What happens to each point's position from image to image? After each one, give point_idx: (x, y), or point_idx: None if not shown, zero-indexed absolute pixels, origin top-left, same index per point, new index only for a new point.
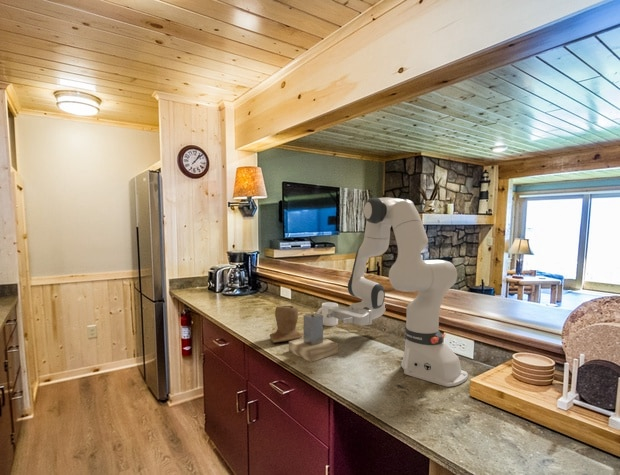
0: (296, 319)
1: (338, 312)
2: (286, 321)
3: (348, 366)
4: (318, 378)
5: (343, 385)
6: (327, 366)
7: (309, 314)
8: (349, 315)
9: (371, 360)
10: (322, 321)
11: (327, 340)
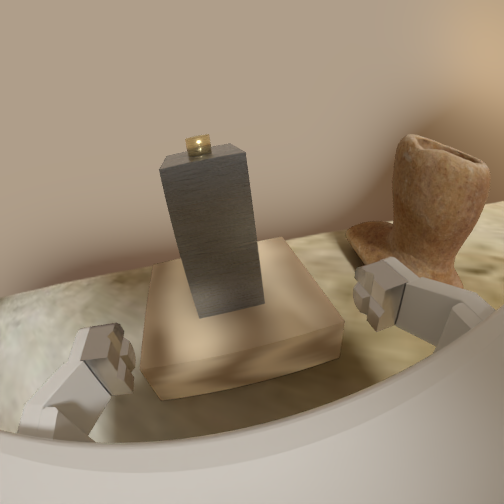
0: (426, 216)
1: (409, 369)
2: (393, 196)
3: (60, 361)
4: (88, 283)
5: (37, 305)
6: (107, 318)
7: (230, 147)
8: (81, 443)
9: None
10: (168, 206)
11: (211, 345)
